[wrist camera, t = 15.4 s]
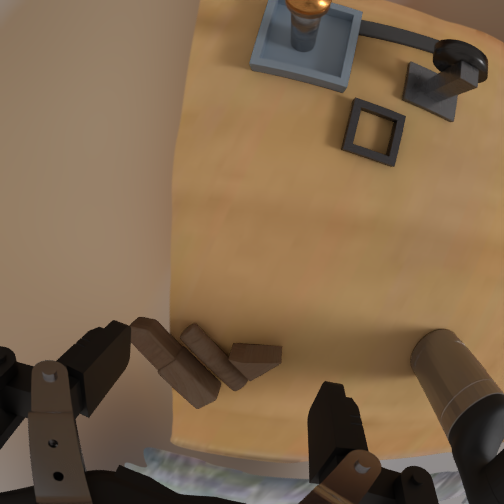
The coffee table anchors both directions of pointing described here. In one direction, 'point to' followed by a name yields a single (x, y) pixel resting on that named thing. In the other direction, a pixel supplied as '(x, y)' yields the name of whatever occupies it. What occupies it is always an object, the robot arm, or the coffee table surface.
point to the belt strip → (397, 36)
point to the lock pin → (306, 22)
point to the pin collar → (381, 112)
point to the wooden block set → (190, 369)
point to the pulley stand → (445, 78)
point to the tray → (315, 61)
